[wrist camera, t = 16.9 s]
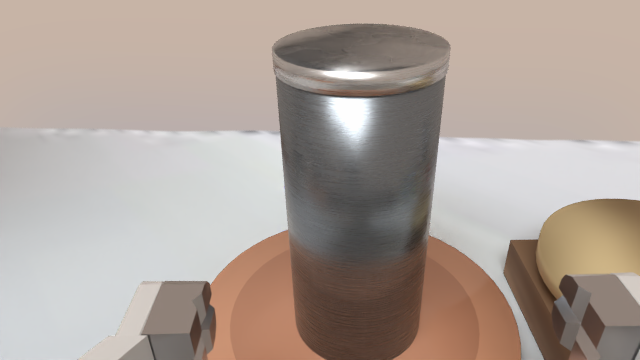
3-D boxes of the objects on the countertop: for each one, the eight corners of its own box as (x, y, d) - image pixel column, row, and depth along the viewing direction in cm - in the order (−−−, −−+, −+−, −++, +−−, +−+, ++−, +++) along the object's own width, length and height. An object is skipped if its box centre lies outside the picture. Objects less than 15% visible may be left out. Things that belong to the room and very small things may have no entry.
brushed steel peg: (291, 369, 17) (263, 76, 12) (296, 273, 22) (278, 26, 16) (431, 366, 17) (471, 70, 12) (409, 271, 22) (430, 21, 16)
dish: (155, 501, 15) (146, 479, 14) (226, 240, 26) (222, 221, 25) (576, 495, 15) (586, 473, 14) (466, 235, 26) (469, 216, 25)
